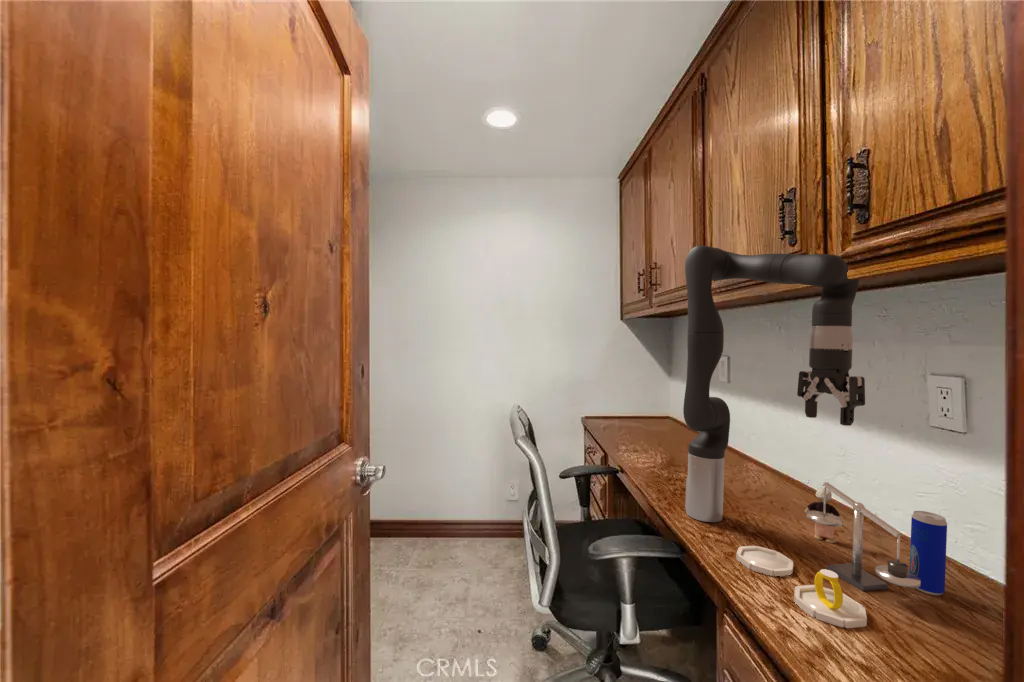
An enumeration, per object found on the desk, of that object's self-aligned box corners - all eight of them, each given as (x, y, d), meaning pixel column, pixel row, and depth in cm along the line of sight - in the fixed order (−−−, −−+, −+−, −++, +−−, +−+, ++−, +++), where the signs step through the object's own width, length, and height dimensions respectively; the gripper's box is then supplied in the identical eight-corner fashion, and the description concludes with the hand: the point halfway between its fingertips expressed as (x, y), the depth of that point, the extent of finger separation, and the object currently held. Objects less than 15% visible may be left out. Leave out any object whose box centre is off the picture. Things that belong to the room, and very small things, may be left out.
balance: (798, 552, 100) (801, 478, 100) (822, 551, 101) (825, 477, 101) (900, 614, 78) (903, 518, 78) (929, 611, 79) (932, 517, 79)
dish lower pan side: (780, 593, 84) (781, 587, 84) (827, 589, 86) (828, 583, 86) (829, 630, 73) (829, 623, 73) (881, 624, 75) (882, 618, 75)
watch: (846, 616, 77) (849, 584, 76) (829, 615, 77) (832, 583, 76) (824, 593, 83) (827, 564, 82) (809, 592, 83) (811, 563, 82)
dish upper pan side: (726, 552, 100) (727, 547, 100) (767, 549, 101) (767, 544, 101) (760, 577, 89) (760, 572, 89) (805, 574, 91) (805, 568, 91)
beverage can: (908, 578, 90) (910, 508, 90) (942, 588, 87) (945, 514, 87) (910, 589, 86) (912, 515, 86) (946, 600, 83) (949, 523, 83)
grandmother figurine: (840, 540, 107) (842, 489, 107) (842, 546, 104) (843, 494, 104) (803, 531, 112) (805, 483, 112) (803, 537, 109) (805, 487, 109)
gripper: (789, 346, 100) (786, 415, 100) (846, 347, 86) (843, 428, 86) (817, 346, 101) (814, 415, 102) (877, 348, 87) (874, 428, 88)
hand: (827, 421), depth 94 cm, fingers open, 8 cm apart
